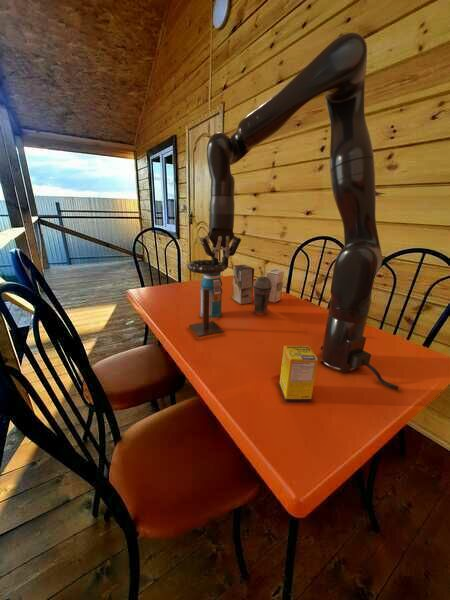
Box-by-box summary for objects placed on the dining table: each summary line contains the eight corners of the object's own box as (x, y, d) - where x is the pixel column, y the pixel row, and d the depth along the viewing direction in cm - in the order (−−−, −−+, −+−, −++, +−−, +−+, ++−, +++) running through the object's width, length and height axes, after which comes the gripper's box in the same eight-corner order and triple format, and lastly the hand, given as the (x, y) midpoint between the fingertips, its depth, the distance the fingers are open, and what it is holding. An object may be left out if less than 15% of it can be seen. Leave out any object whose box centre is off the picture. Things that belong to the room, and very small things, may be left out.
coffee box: (252, 302, 117) (255, 268, 111) (240, 304, 114) (242, 269, 109) (243, 296, 124) (245, 264, 119) (231, 298, 122) (232, 265, 116)
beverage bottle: (198, 320, 96) (198, 268, 90) (201, 311, 104) (201, 263, 98) (220, 321, 96) (222, 269, 89) (221, 312, 104) (223, 264, 97)
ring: (231, 272, 78) (232, 265, 77) (195, 276, 72) (195, 267, 72) (215, 265, 87) (215, 258, 87) (182, 267, 82) (182, 260, 82)
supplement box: (302, 384, 62) (309, 345, 58) (311, 402, 56) (319, 359, 53) (278, 384, 62) (283, 344, 58) (284, 402, 56) (290, 359, 52)
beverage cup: (268, 311, 108) (273, 264, 101) (269, 317, 101) (274, 268, 94) (251, 309, 108) (254, 263, 102) (251, 316, 101) (255, 267, 95)
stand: (223, 335, 85) (224, 291, 80) (198, 340, 81) (198, 294, 76) (212, 324, 93) (213, 283, 88) (189, 328, 89) (188, 286, 84)
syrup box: (270, 297, 125) (273, 268, 120) (280, 300, 121) (284, 270, 116) (263, 300, 121) (266, 270, 116) (274, 303, 117) (278, 272, 112)
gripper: (204, 212, 70) (204, 273, 76) (248, 213, 76) (244, 270, 82) (195, 211, 76) (195, 268, 82) (236, 213, 82) (233, 265, 88)
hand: (220, 268), depth 82 cm, fingers closed on ring, 2 cm apart
